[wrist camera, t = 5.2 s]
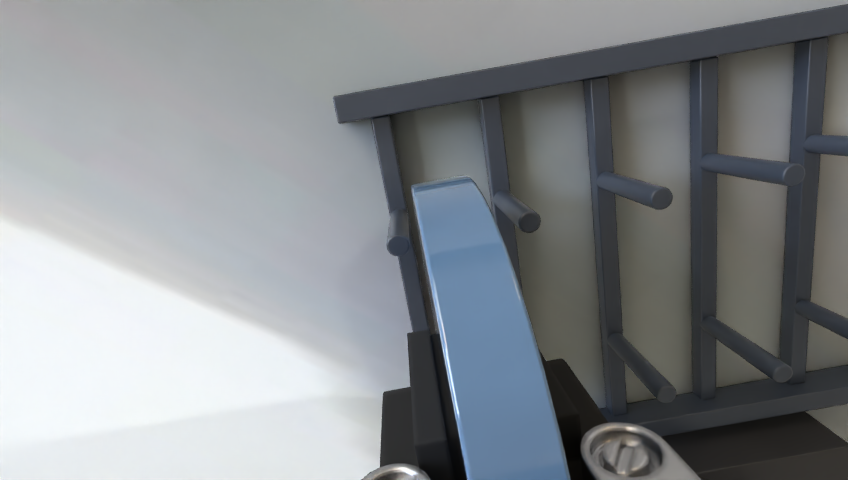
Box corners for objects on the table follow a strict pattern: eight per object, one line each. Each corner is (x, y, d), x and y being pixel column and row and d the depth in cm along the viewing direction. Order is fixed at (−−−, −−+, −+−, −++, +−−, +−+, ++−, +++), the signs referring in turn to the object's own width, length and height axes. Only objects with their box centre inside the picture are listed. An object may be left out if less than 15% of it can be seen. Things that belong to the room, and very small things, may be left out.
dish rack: (414, 457, 18) (418, 548, 15) (337, 97, 15) (314, 91, 11) (899, 372, 18) (1032, 440, 14) (951, -13, 14) (1150, -59, 11)
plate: (455, 437, 16) (543, 900, 7) (405, 163, 14) (429, 269, 4) (487, 432, 16) (622, 883, 7) (444, 155, 14) (563, 245, 4)
